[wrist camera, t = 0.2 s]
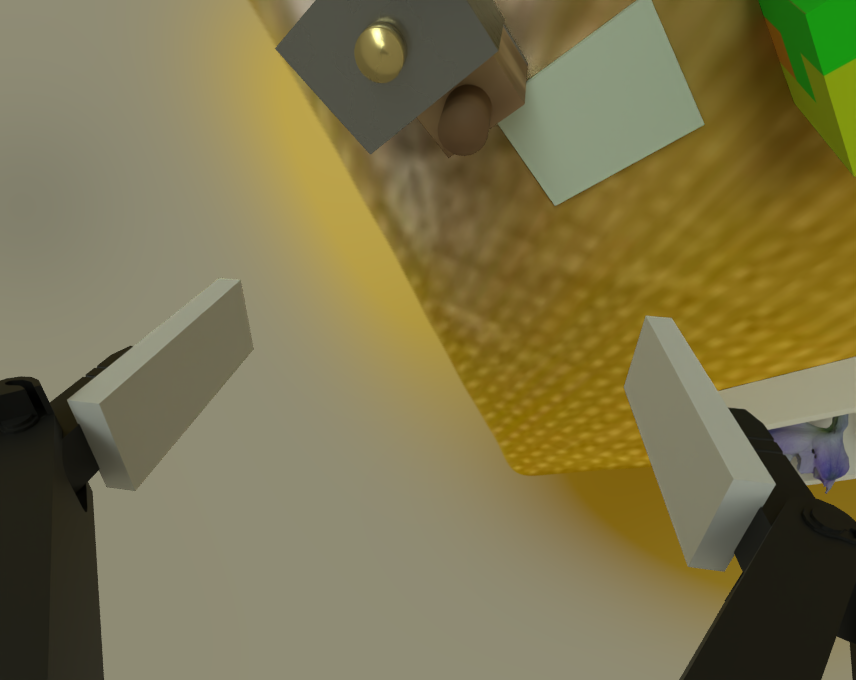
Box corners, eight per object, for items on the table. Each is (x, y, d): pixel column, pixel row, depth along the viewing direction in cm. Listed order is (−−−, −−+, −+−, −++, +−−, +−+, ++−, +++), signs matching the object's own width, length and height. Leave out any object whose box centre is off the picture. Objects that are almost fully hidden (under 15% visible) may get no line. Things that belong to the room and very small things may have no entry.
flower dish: (862, 355, 49) (887, 400, 45) (885, 427, 56) (909, 471, 53) (703, 394, 57) (714, 435, 54) (742, 453, 65) (753, 492, 61)
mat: (647, -8, 30) (648, -7, 30) (703, 122, 35) (704, 124, 35) (489, 108, 37) (488, 111, 36) (555, 203, 42) (555, 206, 42)
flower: (851, 428, 46) (802, 507, 50) (899, 421, 50) (850, 496, 54) (762, 380, 54) (726, 452, 58) (809, 377, 57) (772, 445, 61)
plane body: (327, -68, 30) (267, -31, 24) (395, -155, 27) (346, -140, 20) (460, 113, 37) (442, 180, 31) (527, 62, 34) (523, 126, 27)
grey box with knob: (422, -117, 23) (396, -99, 19) (504, 19, 26) (497, 58, 22) (307, 19, 28) (267, 55, 24) (388, 117, 31) (366, 163, 27)
